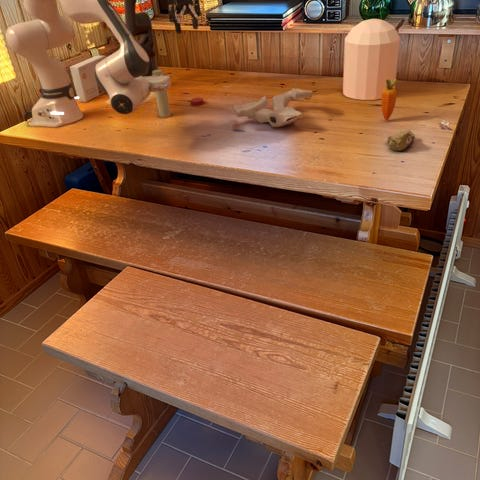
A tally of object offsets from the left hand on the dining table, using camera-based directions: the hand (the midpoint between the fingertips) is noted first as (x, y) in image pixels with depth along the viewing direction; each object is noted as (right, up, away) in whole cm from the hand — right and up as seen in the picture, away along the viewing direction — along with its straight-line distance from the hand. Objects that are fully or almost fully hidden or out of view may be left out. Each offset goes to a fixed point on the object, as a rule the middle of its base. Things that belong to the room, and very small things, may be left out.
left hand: (148, 77), depth 171 cm
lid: (+15, 0, +28) cm, 32 cm away
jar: (+3, -9, +20) cm, 22 cm away
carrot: (+86, -17, -5) cm, 88 cm away
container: (+88, +2, +23) cm, 90 cm away
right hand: (+13, +23, +13) cm, 29 cm away
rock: (+86, -30, -23) cm, 94 cm away
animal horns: (+49, -17, +1) cm, 52 cm away
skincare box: (-35, +10, +52) cm, 63 cm away
